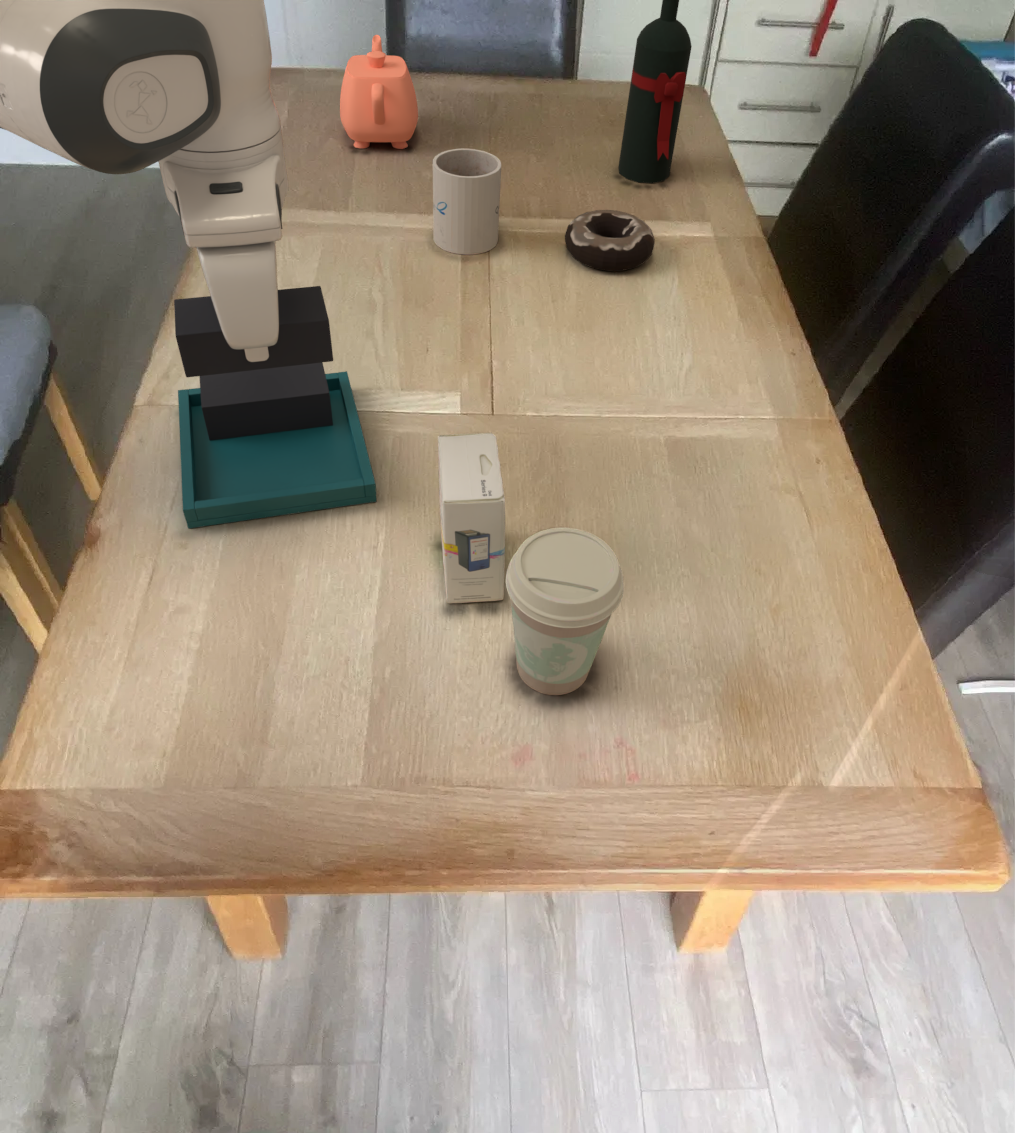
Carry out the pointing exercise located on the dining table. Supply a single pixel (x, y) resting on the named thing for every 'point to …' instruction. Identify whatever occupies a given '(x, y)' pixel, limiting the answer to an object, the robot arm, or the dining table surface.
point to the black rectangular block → (265, 401)
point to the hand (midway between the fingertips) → (254, 333)
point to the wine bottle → (655, 98)
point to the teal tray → (273, 465)
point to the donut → (609, 240)
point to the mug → (466, 201)
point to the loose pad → (211, 354)
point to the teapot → (378, 99)
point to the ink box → (471, 517)
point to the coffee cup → (561, 605)
